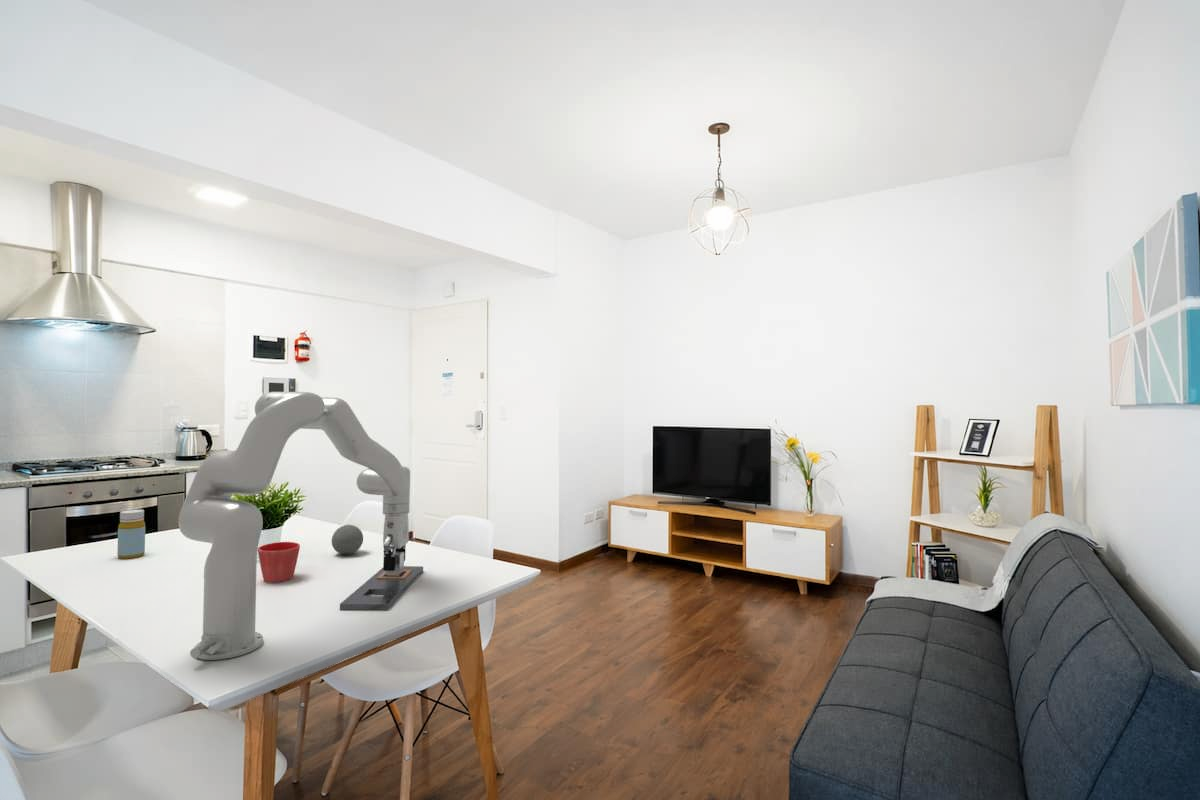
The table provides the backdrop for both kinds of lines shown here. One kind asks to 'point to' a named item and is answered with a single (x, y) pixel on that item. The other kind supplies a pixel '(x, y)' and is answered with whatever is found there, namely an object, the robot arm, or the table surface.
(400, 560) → the steel rectangular block
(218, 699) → the table surface
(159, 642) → the table surface
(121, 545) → the bottle
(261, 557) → the flower pot
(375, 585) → the grey board with holes
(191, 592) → the table surface
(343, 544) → the decorative ball
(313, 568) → the table surface
